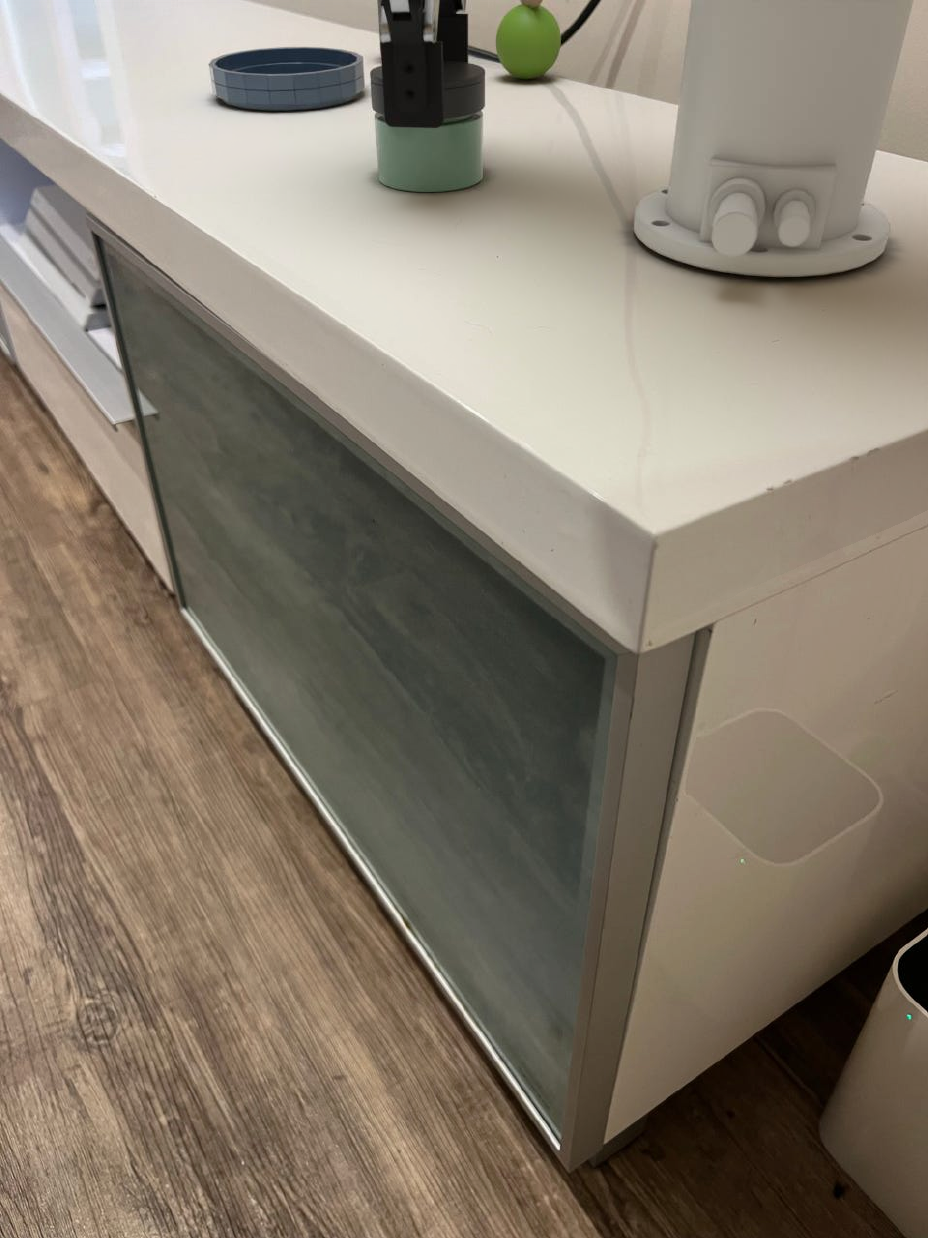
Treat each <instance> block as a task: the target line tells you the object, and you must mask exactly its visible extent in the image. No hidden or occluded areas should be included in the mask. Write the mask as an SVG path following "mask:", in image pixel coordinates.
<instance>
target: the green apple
mask: <svg viewBox="0 0 928 1238" xmlns="http://www.w3.org/2000/svg"><path fill="white" fill-rule="evenodd" d="M519 1H520V4H518V5H516V6H514V7H513V8H511V9H510V10H509V11H507V13H505V15H504V16H503V17H502V19H501V20H500V23H499V25H498V27H497V30H496V35H495V49H496V54H497V58H498V60H499V62H500V64H501V65H502V67H503V69H505V71H506V72H507V73H509V74H510V75H512V76H513V77H515V78H518V79H521V80H532V79H533V80H534V79H537V78H539V77H541V76H544V75H545V74H546V73H547V72H548V71H549V70H550V69H551V68H552V67H553V66H554V64H555V63H556V61H557V59H558V56H559V53H560V51H561V45H562V43H561V42H562V36H561V29H560V26H559V23H558V22H557V19H556V17H555V16H554V15H553V14H552V12H551V11H550V10H549V9H548V8H546V7H544V6H543V5H541V4H542V3H543V0H519Z"/></svg>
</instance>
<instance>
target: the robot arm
mask: <svg viewBox="0 0 928 1238" xmlns="http://www.w3.org/2000/svg"><path fill="white" fill-rule="evenodd" d="M913 4H914V0H690V8H689V17H688V24H687V33H686V41H685V48H684V49H685V50H684V57H683V65H682V73H681V81H680V89H679V96H678V97H679V98H678V106H677V114H676V122H675V130H674V138H673V147H672V152H671V153H672V154H671V163H670V170H669V179H668V186H666V187H662V188H660V189H657V190H655V191H652V192H651V193H649V194H647V195H645V196H644V197H643V198H642V199H641V200H640V201H639V202H638V203H637V204H636V207H635V209H634V217H633V232H634V233H635V235H636V237H637V239H638V240H639V241H640V242H641V243H642V244H643V245H645V246H646V247H647V248H648V249H650V250H652V251H653V252H655V253H657V254H659V255H661V256H663V257H666V258H668V259H671V260H672V261H676V262H678V263H682V264H686V265H689V266H693V267H696V268H700V269H704V270H710V271H715V272H719V273H727V274H728V273H729V274H736V275H741V276H742V275H743V276H752V277H768V278H769V277H770V278H801V277H816V276H825V275H830V274H832V275H833V274H837V273H838V274H839V273H844V272H847V271H851V270H854V269H858V268H861V267H863V266H865V265H867V264H869V263H871V262H873V261H875V260H876V259H877V258H878V257H880V256H881V255H882V254H883V253H884V251H885V249H886V246H887V245H888V244H887V243H888V241H889V237H890V233H891V223H890V221H889V220H888V218H887V216H886V215H885V214H884V213H883V212H882V211H880V209H878V207H875V206H874V205H872V204H871V203H868V202H866V201H865V196H866V193H867V192H866V191H867V188H868V184H869V180H870V176H871V172H872V167H873V163H874V160H875V156H876V151H877V147H878V143H879V140H880V137H881V131H882V128H883V124H884V120H885V115H886V111H887V107H888V103H889V99H890V95H891V92H892V87H893V84H894V80H895V76H896V71H897V67H898V63H899V59H900V56H901V51H902V48H903V44H904V40H905V36H906V32H907V28H908V23H909V20H910V15H911V13H912V12H911V11H912V7H913ZM381 6H382V9H381V21H380V34H381V40H382V41H381V42H380V41H379V46H380V45H381V54H380V60H381V66H382V80H383V98H384V115H385V122H386V124H387V125H388V126H390V127H412V128H438V127H440V126H441V125H442V123H443V121H444V84H443V60H445V61H458V62H465V63H469V13H466V11H467V10H466V9H467V0H382V1H381Z"/></svg>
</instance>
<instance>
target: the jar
mask: <svg viewBox="0 0 928 1238" xmlns="http://www.w3.org/2000/svg"><path fill="white" fill-rule="evenodd" d="M374 127H375V129H374V130H375V144H376V160H377V161H376V163H377V175H378V176H377V177H378V181H379V182H380V183H381V184H382V185H383V186H386V187H388V188H391V189H395V190H399V191H406V192H416V193H441V192H442V193H443V192H450V191H451V192H452V191H457V190H462V189H466V188H469V187H472V186H474V185H476V184H478V183H480V182H481V181H482V180H483V177H484V113H483V110H481V111H479V112H477V113H474V114H471V115H467V116H462V117H456V118H448V119H444V121H443V123H442V125H441V126H440V127H438V128H412V127H390V126H388V125H387V124H386V122H385V115H382V114H379V113H377V112H375V113H374Z"/></svg>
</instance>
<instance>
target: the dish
mask: <svg viewBox="0 0 928 1238" xmlns="http://www.w3.org/2000/svg"><path fill="white" fill-rule="evenodd" d="M208 70H209V77H210V83H211V89H212V94H214V95H215V96H216V98H218V99H221V100H222V102H223V103H224V104H226V105H228V106H232V107H235V108H240V109H245V110H251V111H266V112H267V111H268V112H288V111H289V112H290V111H306V110H316V109H323V108H329V107H334V106H337V105H341V104H345V103H348V102H351V101H352V100H355V99H356V98H357V97H358V96H359V93H360V92H363V91H364V90H365V87H366V82H365V81H366V80H365V66H364V56H363V55H361V54H360V53H357V52H355V51H351V50H346V49H341V48H332V47H322V46H321V47H319V46H317V47H316V46H280V47H267V48H265V47H264V48H256V49H249V50H241V51H236V52H230V53H227V54H222V55H220V56H218V57H215V58H212V59H211V60H210V61H209V63H208Z"/></svg>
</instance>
